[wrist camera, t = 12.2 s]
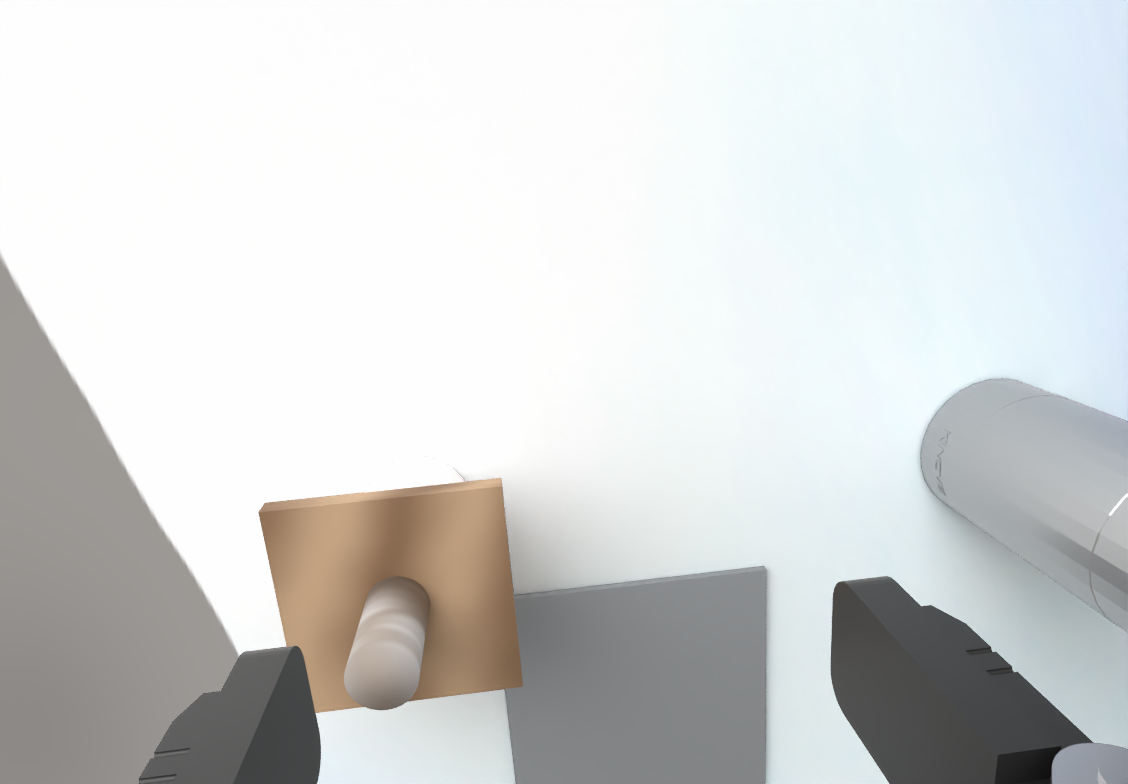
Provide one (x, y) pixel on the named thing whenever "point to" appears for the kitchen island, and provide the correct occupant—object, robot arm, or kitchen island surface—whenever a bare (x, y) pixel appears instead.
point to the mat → (643, 682)
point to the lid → (396, 592)
